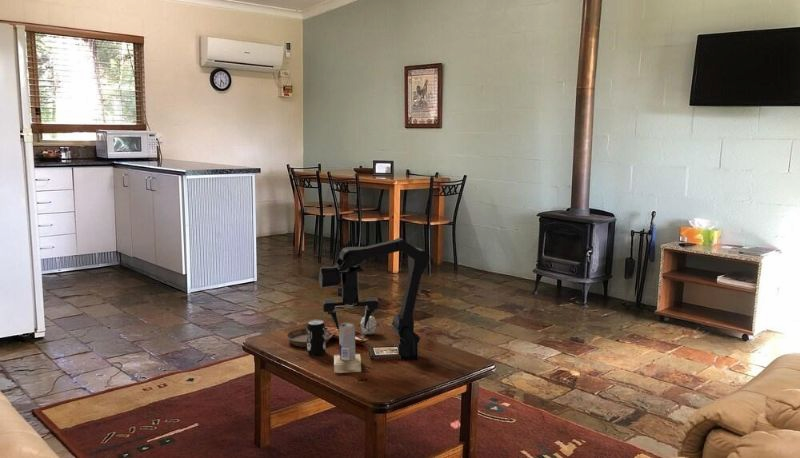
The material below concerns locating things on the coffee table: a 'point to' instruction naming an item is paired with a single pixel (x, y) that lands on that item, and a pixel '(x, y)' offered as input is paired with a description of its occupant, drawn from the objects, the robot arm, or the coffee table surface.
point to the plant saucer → (303, 337)
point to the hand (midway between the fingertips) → (351, 328)
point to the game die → (368, 325)
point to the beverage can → (316, 337)
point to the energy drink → (347, 341)
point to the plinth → (347, 364)
